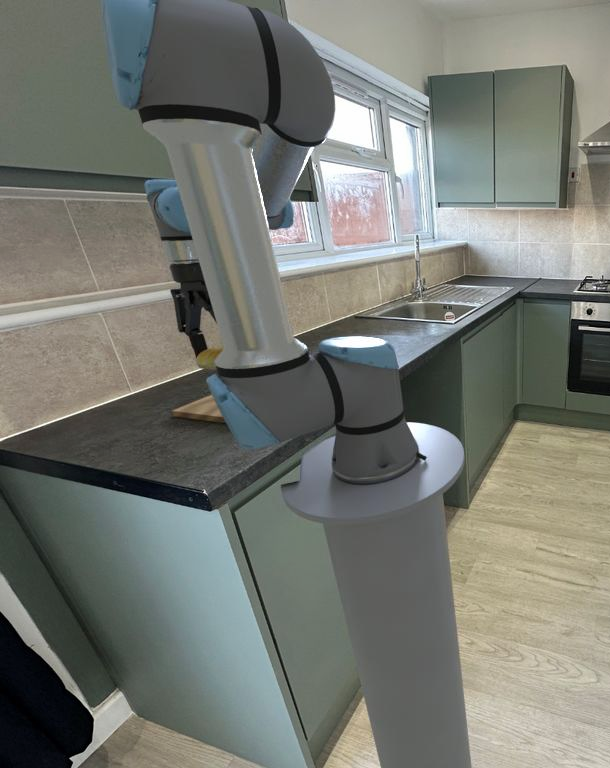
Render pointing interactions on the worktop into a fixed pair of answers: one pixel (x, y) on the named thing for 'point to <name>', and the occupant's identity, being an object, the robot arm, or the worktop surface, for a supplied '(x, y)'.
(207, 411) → the cutting board
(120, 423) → the worktop surface
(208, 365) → the bread roll
